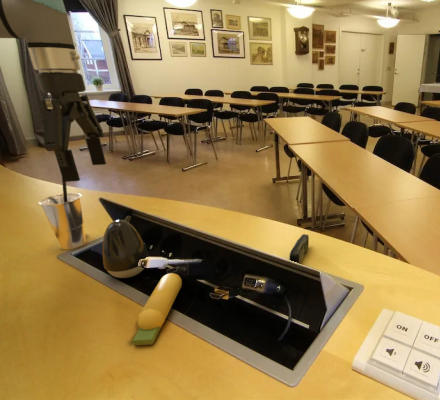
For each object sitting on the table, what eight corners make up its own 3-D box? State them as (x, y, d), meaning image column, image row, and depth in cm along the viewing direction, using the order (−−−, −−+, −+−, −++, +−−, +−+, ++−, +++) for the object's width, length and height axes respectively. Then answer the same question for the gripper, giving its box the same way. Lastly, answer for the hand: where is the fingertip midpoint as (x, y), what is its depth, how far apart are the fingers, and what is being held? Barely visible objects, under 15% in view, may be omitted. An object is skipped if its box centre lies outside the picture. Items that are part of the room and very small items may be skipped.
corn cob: (130, 348, 62) (124, 327, 60) (164, 286, 80) (161, 269, 78) (157, 346, 62) (152, 326, 61) (185, 285, 80) (182, 268, 79)
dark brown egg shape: (157, 261, 91) (147, 212, 85) (139, 283, 81) (126, 229, 76) (121, 261, 90) (109, 212, 85) (98, 283, 81) (83, 229, 75)
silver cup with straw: (86, 232, 107) (61, 143, 96) (101, 242, 101) (76, 147, 90) (46, 244, 99) (14, 149, 88) (60, 256, 93) (27, 154, 82)
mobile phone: (298, 256, 85) (311, 230, 99) (287, 254, 86) (301, 229, 99) (298, 271, 87) (311, 244, 101) (288, 270, 88) (302, 243, 101)
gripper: (44, 71, 55) (78, 188, 62) (104, 72, 77) (124, 158, 85) (-7, 71, 53) (34, 191, 61) (69, 72, 76) (92, 159, 84)
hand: (86, 172), depth 73 cm, fingers open, 13 cm apart
